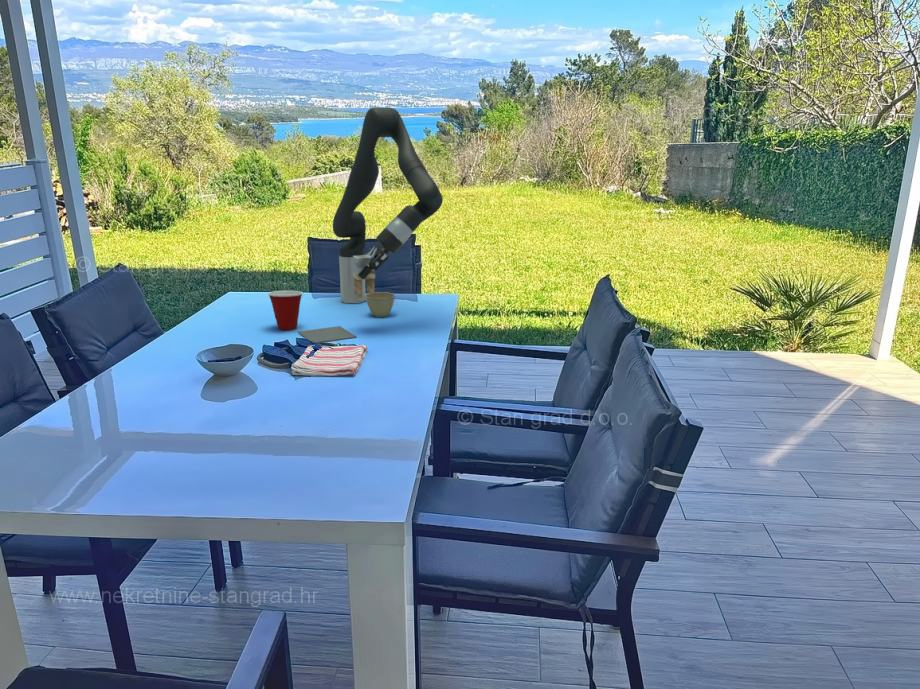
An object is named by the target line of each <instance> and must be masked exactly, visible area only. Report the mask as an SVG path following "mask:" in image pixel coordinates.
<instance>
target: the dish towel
mask: <svg viewBox="0 0 920 689" xmlns="http://www.w3.org/2000/svg"><path fill="white" fill-rule="evenodd" d="M312 346H313V345H309V346H308V347H306V348H305V350H304V353H302V355H301V356H300V357H299V359H297V360H296V361H295V362H294V363H291V367H290V369H291V375H293V376H294V375H295V376H314V377H319V376H320V377H323V376H324V377H337V376H338V377H340V376H351V377H352V376H354V377H355V376H356V373H358V371H359V370H360V367H361V366H362V364H363V361H364V359H365V358H366V355H367V352H368V345H365V344H362V345H343V346H341V345H338V346H321V347H322V348H321V349H319V350H317V351H316V352H315V353H314V355H313V356H311V357H309V358H307V357H306V356H307V355H309V354H310V352H311V351H312V350H314V349H313V347H312ZM329 347H331V348H333V349H331V348H329Z"/></svg>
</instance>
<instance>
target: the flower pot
mask: <svg viewBox="0 0 920 689" xmlns="http://www.w3.org/2000/svg"><path fill="white" fill-rule="evenodd" d="M395 296H396V295H395V294H394V293H393V292H392V293H391V292H386V291H381V292H379V291H376V292H375V296H370V293H367V294H365V297H366V301H365V302H366V303H367V306H368V308H369V311H370V313H371V315H372V316H373V317H375V318H382V317H383V318H384V317H388V316H389V314H390V312H391V311H392V308H393V306H394V302H395Z"/></svg>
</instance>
